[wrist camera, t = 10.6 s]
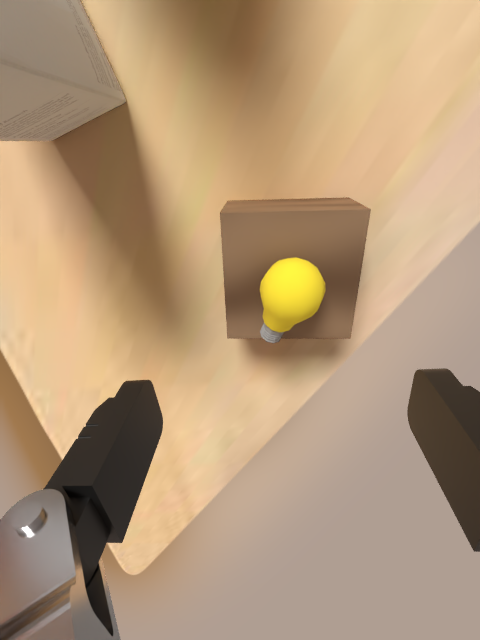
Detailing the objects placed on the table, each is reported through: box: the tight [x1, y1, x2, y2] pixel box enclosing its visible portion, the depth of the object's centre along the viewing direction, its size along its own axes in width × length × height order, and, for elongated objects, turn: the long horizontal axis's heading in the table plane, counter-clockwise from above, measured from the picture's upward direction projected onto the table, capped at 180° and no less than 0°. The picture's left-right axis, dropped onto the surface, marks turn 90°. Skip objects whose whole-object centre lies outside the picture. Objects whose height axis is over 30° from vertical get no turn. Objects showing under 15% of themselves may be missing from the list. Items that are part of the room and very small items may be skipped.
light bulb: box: [260, 257, 325, 343], centre depth 18 cm, size 3×6×4 cm, turn 164°
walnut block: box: [220, 198, 371, 338], centre depth 21 cm, size 8×8×5 cm
